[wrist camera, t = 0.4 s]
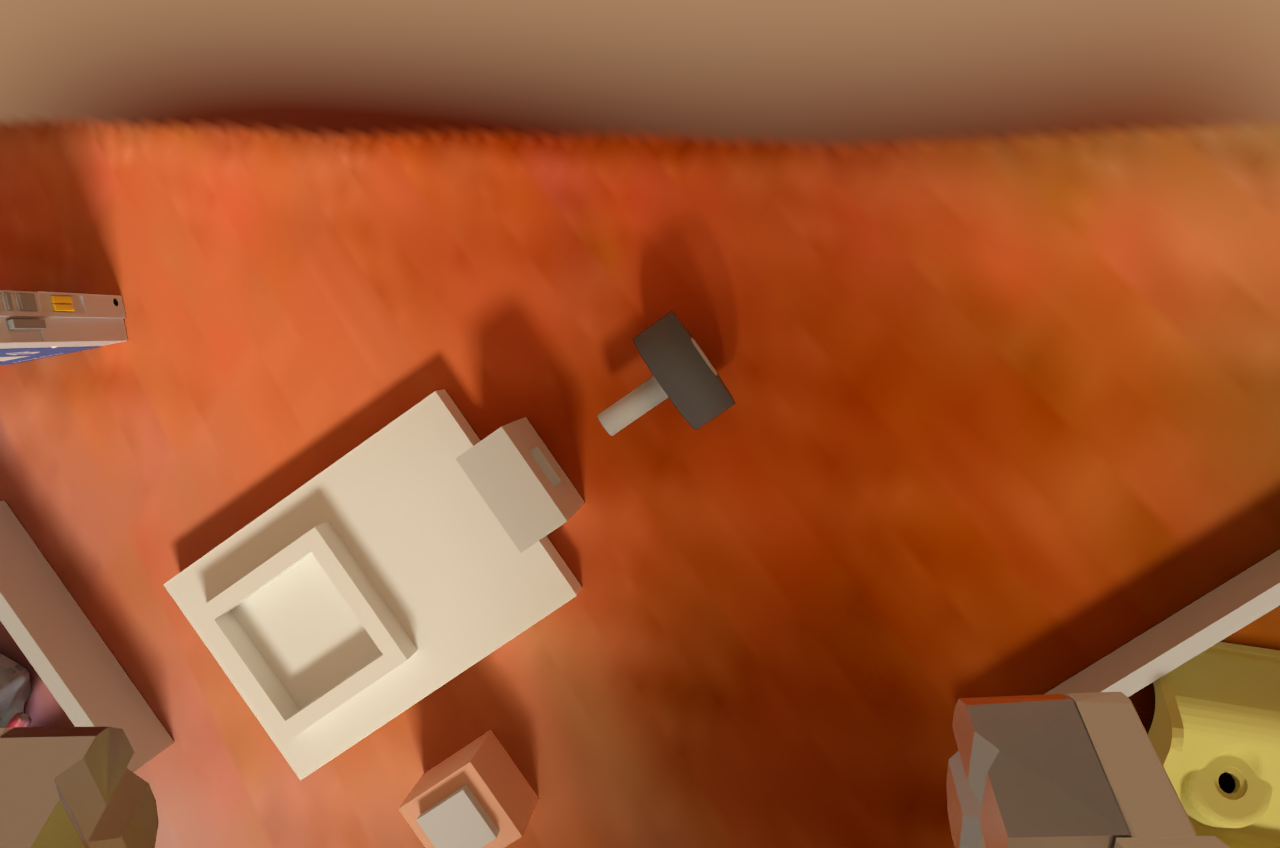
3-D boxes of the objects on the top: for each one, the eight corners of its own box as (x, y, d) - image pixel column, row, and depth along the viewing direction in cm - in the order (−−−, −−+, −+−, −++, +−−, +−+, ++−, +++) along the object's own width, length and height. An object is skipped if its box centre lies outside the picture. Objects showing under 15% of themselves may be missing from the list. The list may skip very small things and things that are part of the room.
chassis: (624, 559, 63) (610, 584, 57) (313, 767, 66) (268, 813, 60) (486, 359, 63) (457, 363, 57) (180, 576, 66) (120, 603, 60)
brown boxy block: (538, 797, 65) (519, 842, 60) (471, 841, 66) (445, 889, 60) (490, 729, 65) (466, 767, 60) (424, 773, 66) (393, 815, 60)
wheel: (737, 398, 62) (736, 406, 56) (641, 464, 63) (630, 478, 57) (676, 311, 62) (669, 308, 56) (581, 377, 63) (564, 382, 57)
